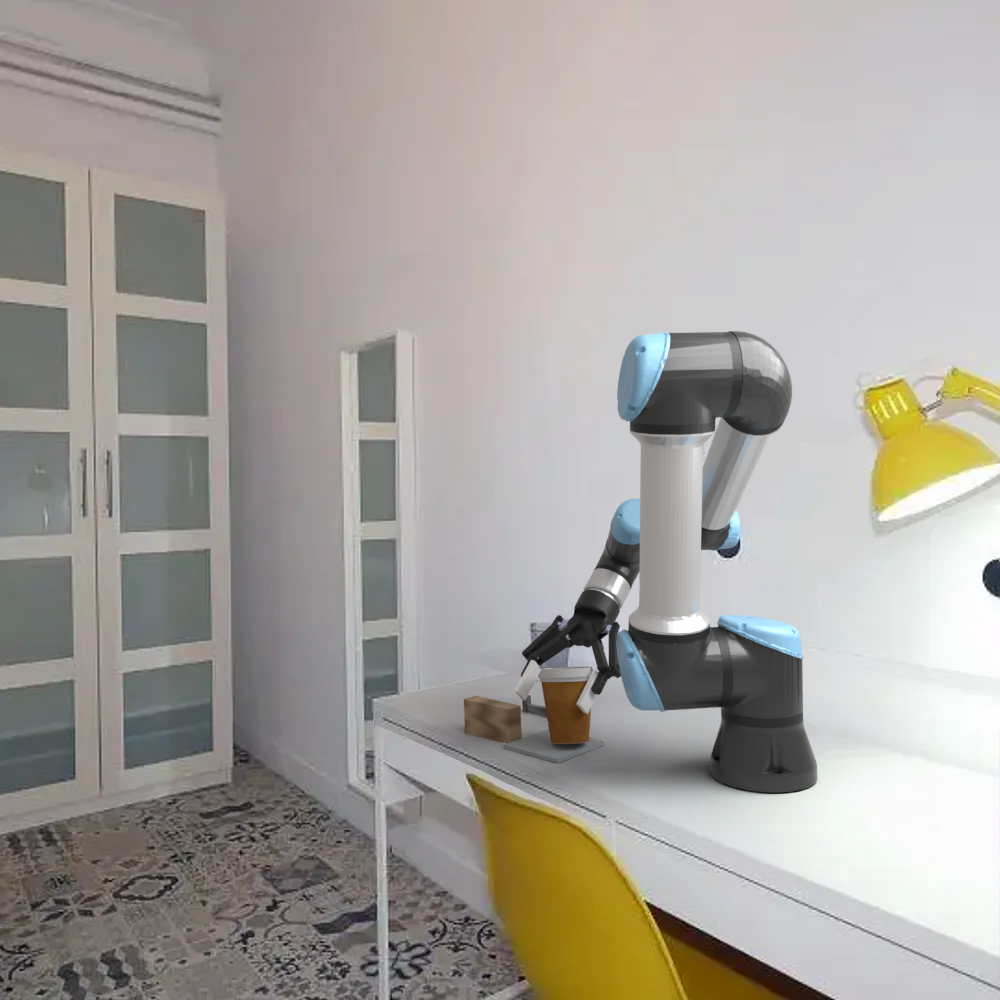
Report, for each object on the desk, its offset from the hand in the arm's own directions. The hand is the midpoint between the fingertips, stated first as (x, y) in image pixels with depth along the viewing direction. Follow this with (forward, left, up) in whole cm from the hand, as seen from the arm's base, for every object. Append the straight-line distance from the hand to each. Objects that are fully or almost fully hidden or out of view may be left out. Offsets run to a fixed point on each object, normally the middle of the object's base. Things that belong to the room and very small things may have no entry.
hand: (549, 702), depth 144 cm
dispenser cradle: (+12, -6, -8) cm, 15 cm away
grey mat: (0, -1, -8) cm, 8 cm away
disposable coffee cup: (-3, -1, -7) cm, 7 cm away
